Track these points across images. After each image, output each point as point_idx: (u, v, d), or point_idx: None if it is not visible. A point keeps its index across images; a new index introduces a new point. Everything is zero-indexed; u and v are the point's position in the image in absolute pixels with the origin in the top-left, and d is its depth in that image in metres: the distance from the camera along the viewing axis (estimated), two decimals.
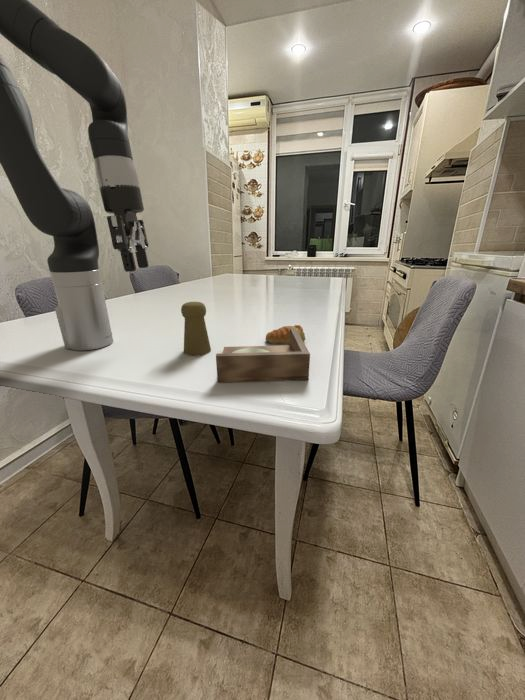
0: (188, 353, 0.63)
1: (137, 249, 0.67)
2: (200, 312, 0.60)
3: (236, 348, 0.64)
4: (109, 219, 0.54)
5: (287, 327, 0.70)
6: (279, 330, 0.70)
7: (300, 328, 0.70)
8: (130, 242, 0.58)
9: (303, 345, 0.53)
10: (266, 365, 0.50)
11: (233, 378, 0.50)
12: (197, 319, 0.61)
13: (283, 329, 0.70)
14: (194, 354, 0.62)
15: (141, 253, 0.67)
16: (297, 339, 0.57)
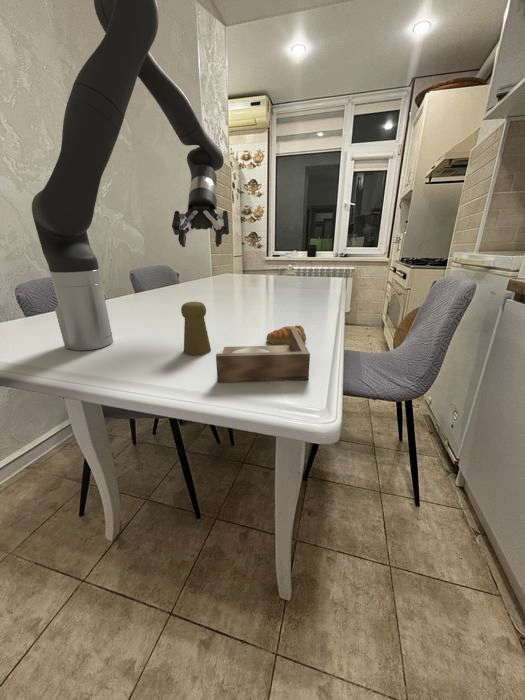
0: (188, 353, 0.63)
1: (184, 230, 0.73)
2: (200, 312, 0.60)
3: (236, 348, 0.64)
4: (227, 213, 0.76)
5: (288, 327, 0.70)
6: (280, 330, 0.69)
7: (301, 328, 0.70)
8: None
9: (303, 345, 0.53)
10: (266, 365, 0.50)
11: (233, 378, 0.50)
12: (197, 319, 0.61)
13: (284, 329, 0.69)
14: (194, 354, 0.62)
15: (185, 235, 0.74)
16: (297, 339, 0.57)
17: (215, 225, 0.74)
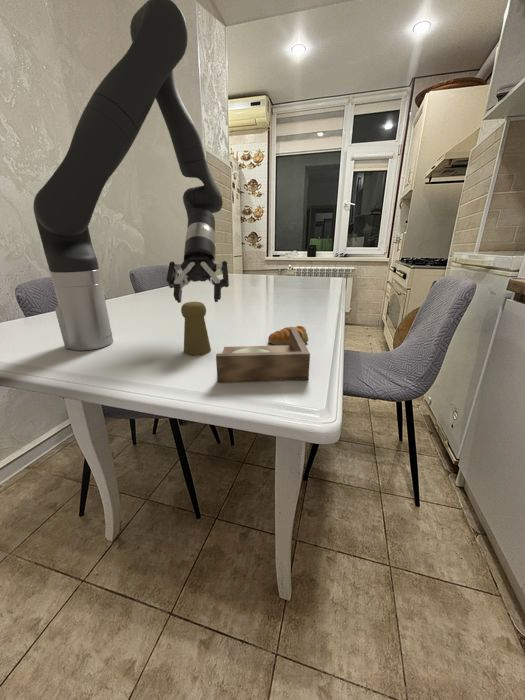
0: (188, 353, 0.63)
1: (179, 284, 0.67)
2: (200, 312, 0.60)
3: (236, 348, 0.64)
4: None
5: None
6: (282, 331, 0.69)
7: (303, 329, 0.70)
8: None
9: (303, 345, 0.53)
10: (266, 365, 0.50)
11: (233, 378, 0.50)
12: (197, 319, 0.61)
13: (286, 330, 0.69)
14: (194, 354, 0.62)
15: (181, 289, 0.68)
16: (297, 339, 0.57)
17: (214, 278, 0.68)
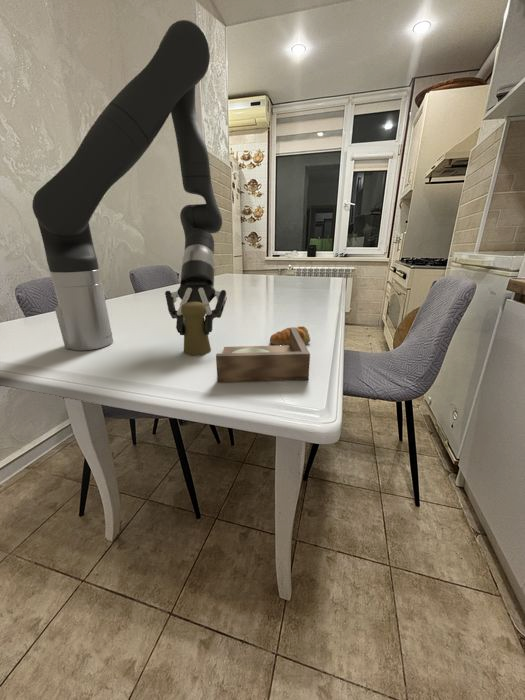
0: (188, 353, 0.63)
1: (182, 315, 0.63)
2: (200, 312, 0.60)
3: (236, 348, 0.64)
4: (225, 294, 0.65)
5: None
6: (284, 332, 0.68)
7: (305, 329, 0.69)
8: None
9: (303, 345, 0.53)
10: (266, 365, 0.50)
11: (233, 378, 0.50)
12: (197, 319, 0.61)
13: (288, 331, 0.68)
14: (194, 354, 0.62)
15: (184, 321, 0.63)
16: (297, 339, 0.57)
17: (206, 308, 0.63)
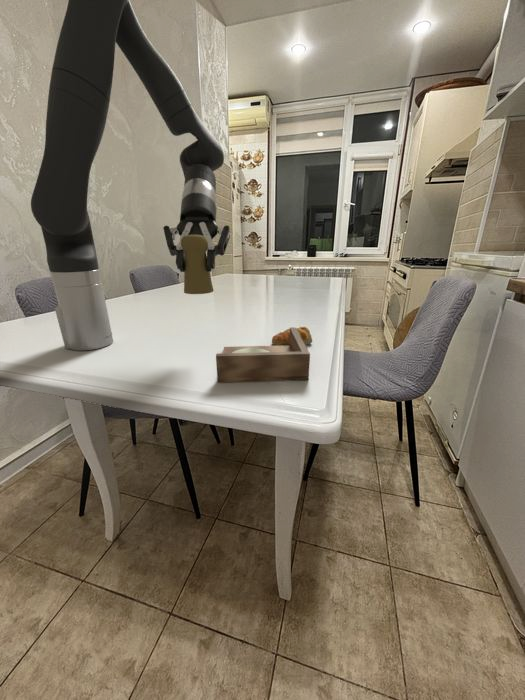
0: (189, 291, 0.58)
1: (182, 251, 0.58)
2: (201, 244, 0.55)
3: (236, 348, 0.64)
4: (229, 229, 0.60)
5: None
6: (286, 333, 0.68)
7: (307, 330, 0.69)
8: None
9: (303, 345, 0.53)
10: (266, 365, 0.50)
11: (233, 378, 0.50)
12: (198, 252, 0.56)
13: None
14: (195, 292, 0.57)
15: (184, 257, 0.58)
16: (297, 339, 0.57)
17: (208, 243, 0.58)
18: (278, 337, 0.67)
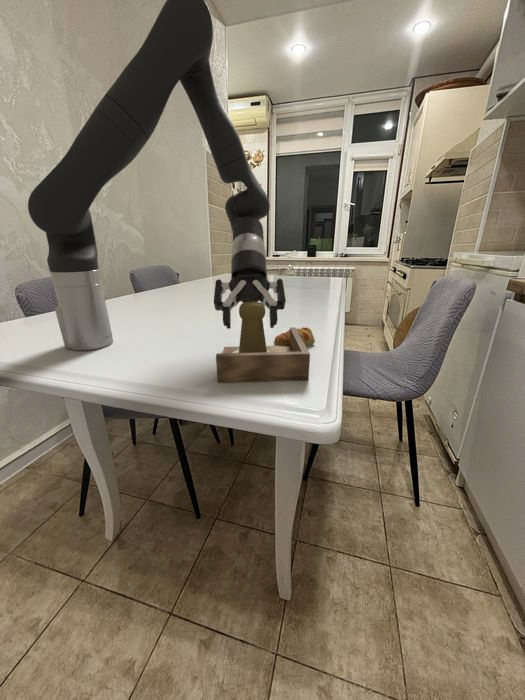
0: None
1: (228, 307, 0.57)
2: (261, 313, 0.55)
3: (236, 348, 0.64)
4: (282, 282, 0.60)
5: None
6: (288, 333, 0.67)
7: (309, 330, 0.68)
8: None
9: (303, 345, 0.53)
10: (266, 365, 0.50)
11: (233, 378, 0.50)
12: (257, 320, 0.56)
13: None
14: None
15: (230, 313, 0.58)
16: (297, 339, 0.57)
17: (269, 300, 0.57)
18: (281, 338, 0.66)
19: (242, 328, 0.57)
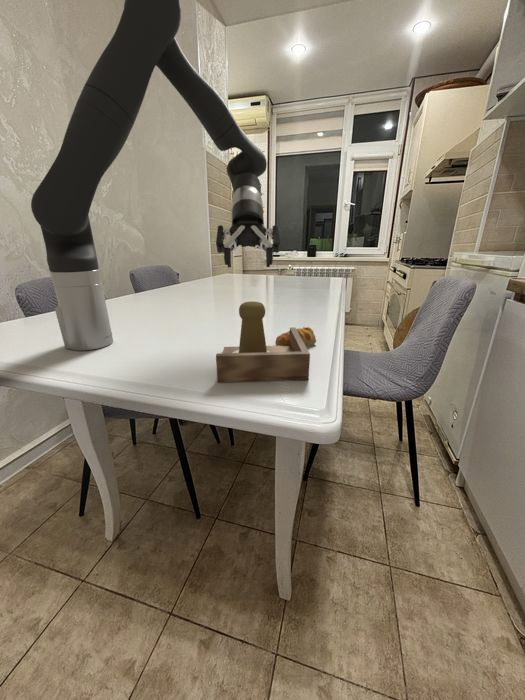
0: None
1: (229, 248, 0.64)
2: (261, 313, 0.55)
3: (236, 348, 0.64)
4: (277, 228, 0.67)
5: (297, 330, 0.68)
6: None
7: (310, 330, 0.68)
8: None
9: (303, 345, 0.53)
10: (266, 365, 0.50)
11: (233, 378, 0.50)
12: (257, 320, 0.56)
13: None
14: None
15: None
16: (297, 339, 0.57)
17: (265, 242, 0.64)
18: (282, 338, 0.66)
19: (242, 328, 0.57)
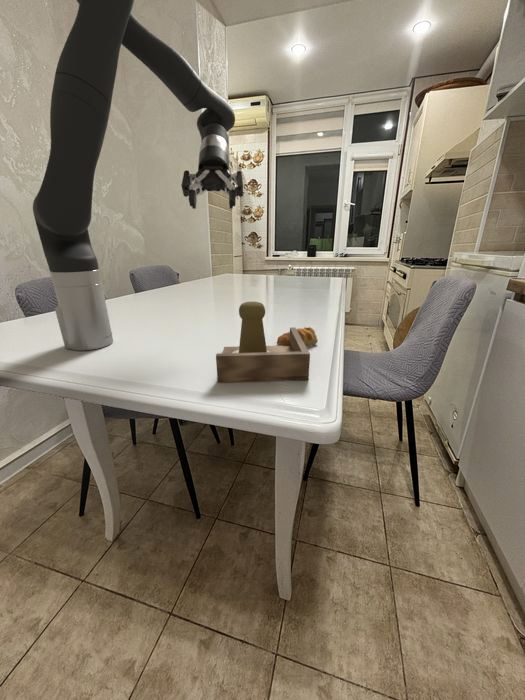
0: None
1: (194, 191, 0.67)
2: (261, 313, 0.55)
3: (236, 348, 0.64)
4: (241, 174, 0.70)
5: (298, 330, 0.68)
6: None
7: (312, 330, 0.68)
8: None
9: (303, 345, 0.53)
10: (266, 365, 0.50)
11: (233, 378, 0.50)
12: (257, 320, 0.56)
13: None
14: None
15: (195, 196, 0.68)
16: (297, 339, 0.57)
17: (228, 185, 0.67)
18: (284, 338, 0.66)
19: (242, 328, 0.57)
